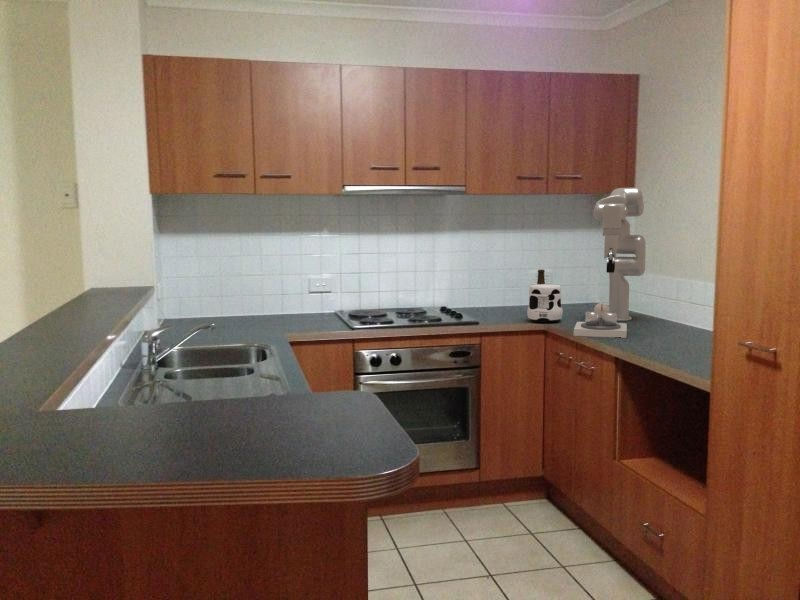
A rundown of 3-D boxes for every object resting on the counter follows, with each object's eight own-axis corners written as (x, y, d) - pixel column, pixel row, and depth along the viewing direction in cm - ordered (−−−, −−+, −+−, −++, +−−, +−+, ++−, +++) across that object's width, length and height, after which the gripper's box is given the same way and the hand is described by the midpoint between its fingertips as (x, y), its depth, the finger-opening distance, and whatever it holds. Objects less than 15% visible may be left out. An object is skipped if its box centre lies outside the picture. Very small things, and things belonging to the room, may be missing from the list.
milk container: (549, 318, 352) (550, 283, 349) (569, 322, 335) (570, 286, 333) (520, 320, 345) (520, 285, 343) (539, 325, 329) (539, 288, 327)
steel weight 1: (585, 323, 308) (585, 311, 307) (599, 323, 306) (599, 311, 306) (585, 325, 302) (585, 313, 302) (599, 325, 300) (599, 313, 300)
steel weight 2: (602, 324, 306) (602, 311, 305) (616, 324, 304) (616, 312, 303) (602, 326, 300) (602, 313, 299) (616, 326, 298) (616, 314, 297)
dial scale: (577, 327, 319) (577, 301, 318) (626, 329, 312) (627, 302, 311) (573, 335, 298) (574, 307, 297) (626, 337, 291) (627, 309, 290)
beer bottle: (548, 315, 361) (548, 270, 358) (533, 315, 363) (533, 270, 360) (548, 313, 369) (548, 269, 366) (533, 313, 370) (533, 269, 367)
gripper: (603, 231, 306) (602, 269, 308) (601, 233, 290) (601, 273, 292) (620, 231, 304) (619, 270, 306) (620, 233, 287) (619, 273, 290)
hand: (610, 271), depth 299 cm, fingers open, 9 cm apart
